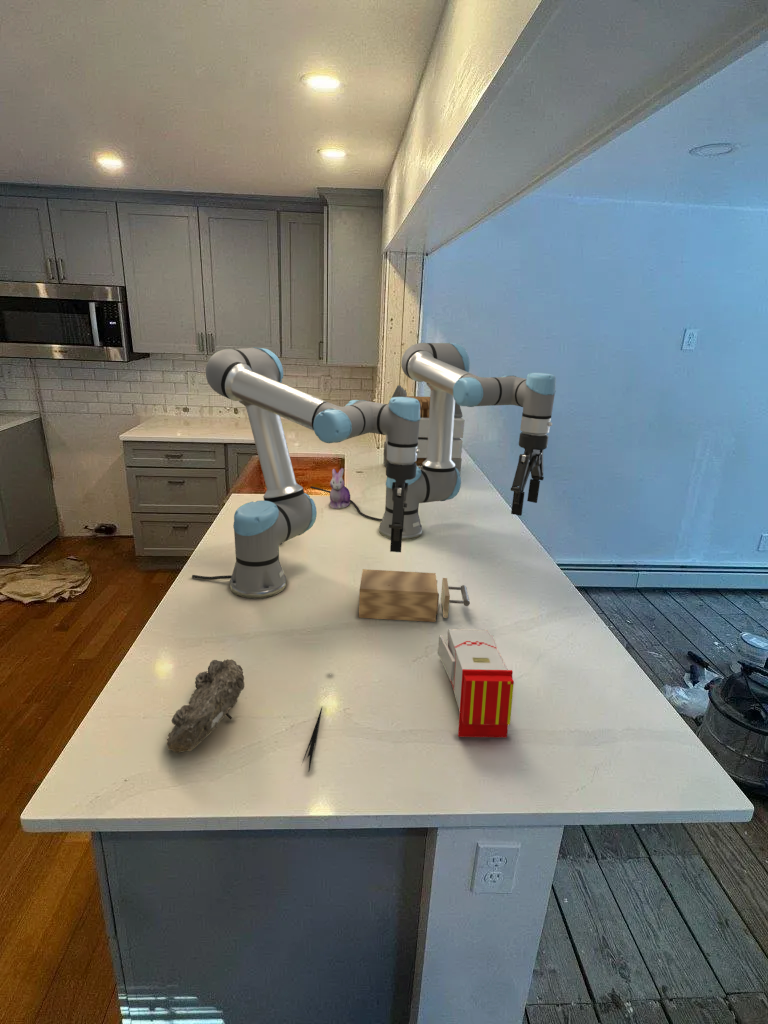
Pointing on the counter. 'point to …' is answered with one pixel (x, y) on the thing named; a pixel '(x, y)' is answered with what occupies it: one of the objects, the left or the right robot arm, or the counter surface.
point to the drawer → (446, 597)
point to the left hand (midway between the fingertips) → (396, 540)
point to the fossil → (206, 705)
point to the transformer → (423, 430)
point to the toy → (478, 682)
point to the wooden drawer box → (398, 595)
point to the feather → (313, 740)
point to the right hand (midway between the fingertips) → (524, 508)
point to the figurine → (338, 491)
